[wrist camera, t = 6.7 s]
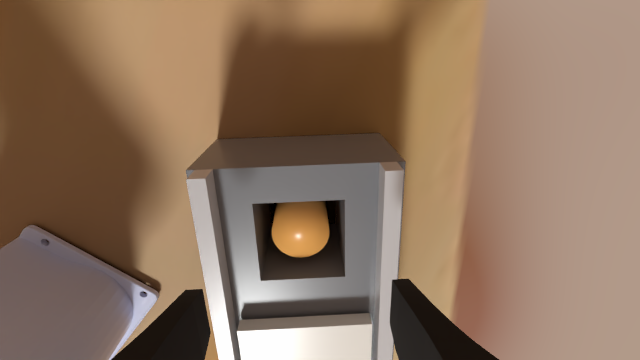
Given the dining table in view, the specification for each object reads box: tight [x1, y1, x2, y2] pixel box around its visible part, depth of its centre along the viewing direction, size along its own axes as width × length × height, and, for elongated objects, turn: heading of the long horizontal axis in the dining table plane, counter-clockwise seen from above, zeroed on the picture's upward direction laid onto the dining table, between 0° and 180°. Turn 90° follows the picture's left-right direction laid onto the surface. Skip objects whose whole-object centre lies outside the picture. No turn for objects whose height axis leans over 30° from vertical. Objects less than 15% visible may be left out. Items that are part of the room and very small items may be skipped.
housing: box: [186, 133, 405, 360], centre depth 20 cm, size 16×10×7 cm, turn 2°
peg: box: [272, 201, 329, 258], centre depth 20 cm, size 3×3×5 cm
